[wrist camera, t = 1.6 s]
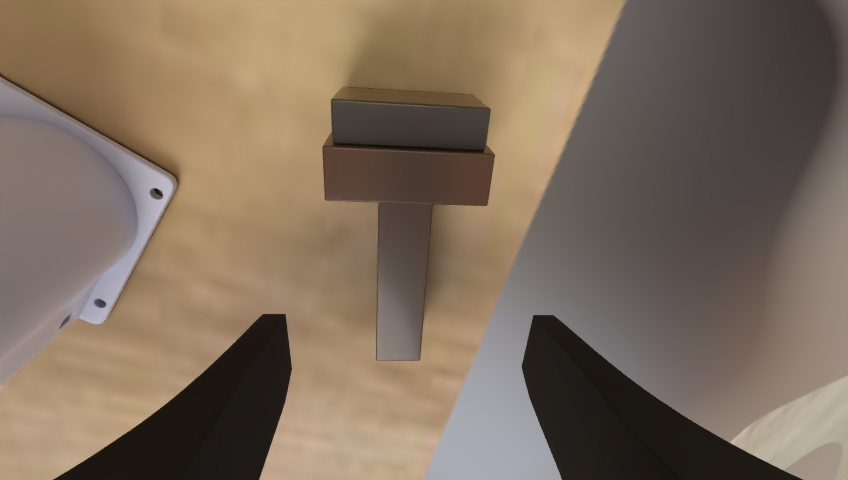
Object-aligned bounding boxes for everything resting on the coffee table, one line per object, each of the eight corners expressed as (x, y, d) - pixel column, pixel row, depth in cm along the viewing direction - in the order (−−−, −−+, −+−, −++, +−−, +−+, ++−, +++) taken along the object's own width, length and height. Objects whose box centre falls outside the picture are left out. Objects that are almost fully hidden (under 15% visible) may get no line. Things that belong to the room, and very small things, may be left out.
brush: (342, 327, 22) (333, 383, 19) (335, 85, 16) (319, 99, 13) (450, 327, 23) (461, 382, 19) (478, 93, 17) (502, 109, 13)
